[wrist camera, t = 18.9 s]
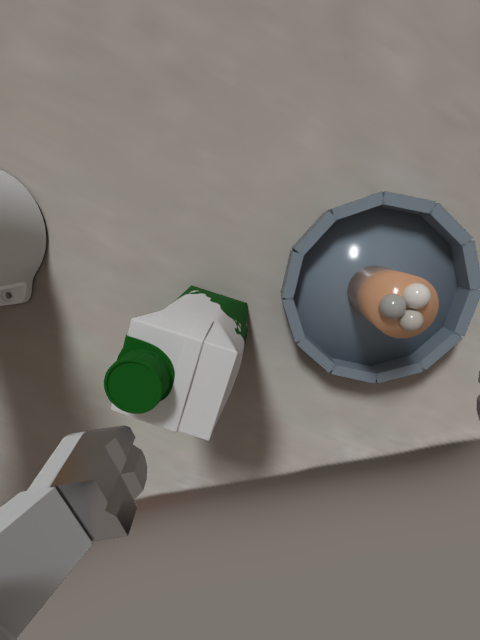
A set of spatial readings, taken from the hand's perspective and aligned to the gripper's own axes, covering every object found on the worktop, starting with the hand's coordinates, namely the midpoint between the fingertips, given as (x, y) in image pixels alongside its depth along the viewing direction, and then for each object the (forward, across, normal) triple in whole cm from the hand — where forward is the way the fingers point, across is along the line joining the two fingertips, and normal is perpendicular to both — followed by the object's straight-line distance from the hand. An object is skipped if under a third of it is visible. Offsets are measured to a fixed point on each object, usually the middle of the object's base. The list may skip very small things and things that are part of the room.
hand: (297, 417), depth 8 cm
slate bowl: (+31, -11, +11) cm, 34 cm away
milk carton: (+31, +8, +11) cm, 34 cm away
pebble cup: (+30, -11, +10) cm, 33 cm away
